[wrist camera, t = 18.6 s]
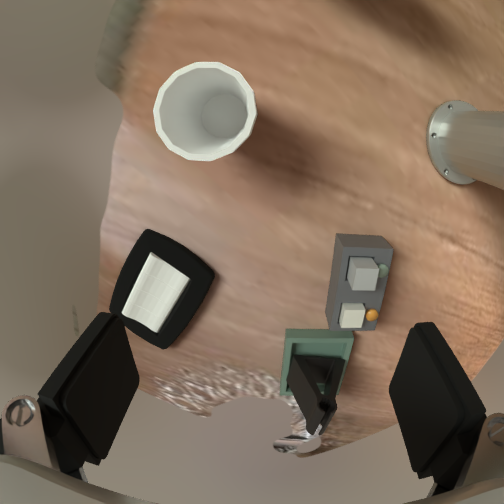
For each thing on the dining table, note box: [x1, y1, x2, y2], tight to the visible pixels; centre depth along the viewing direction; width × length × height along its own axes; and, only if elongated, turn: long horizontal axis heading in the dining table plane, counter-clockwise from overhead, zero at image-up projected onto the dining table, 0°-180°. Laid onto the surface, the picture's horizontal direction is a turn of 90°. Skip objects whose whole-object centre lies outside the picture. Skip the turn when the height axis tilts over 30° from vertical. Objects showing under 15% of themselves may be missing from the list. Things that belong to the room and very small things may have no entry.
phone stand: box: [286, 355, 345, 435], centre depth 43 cm, size 9×6×12 cm, turn 82°
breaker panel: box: [325, 234, 394, 331], centre depth 42 cm, size 7×13×6 cm, turn 179°
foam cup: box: [153, 62, 258, 161], centre depth 31 cm, size 10×9×13 cm
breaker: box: [347, 257, 379, 291], centre depth 37 cm, size 3×3×4 cm
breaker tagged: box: [338, 303, 365, 328], centre depth 41 cm, size 3×3×4 cm
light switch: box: [109, 229, 215, 349], centre depth 47 cm, size 20×3×14 cm
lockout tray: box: [280, 329, 354, 395], centre depth 50 cm, size 11×14×2 cm
